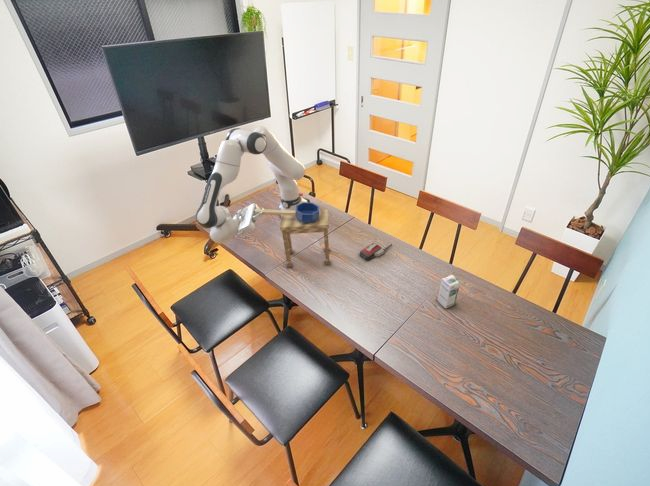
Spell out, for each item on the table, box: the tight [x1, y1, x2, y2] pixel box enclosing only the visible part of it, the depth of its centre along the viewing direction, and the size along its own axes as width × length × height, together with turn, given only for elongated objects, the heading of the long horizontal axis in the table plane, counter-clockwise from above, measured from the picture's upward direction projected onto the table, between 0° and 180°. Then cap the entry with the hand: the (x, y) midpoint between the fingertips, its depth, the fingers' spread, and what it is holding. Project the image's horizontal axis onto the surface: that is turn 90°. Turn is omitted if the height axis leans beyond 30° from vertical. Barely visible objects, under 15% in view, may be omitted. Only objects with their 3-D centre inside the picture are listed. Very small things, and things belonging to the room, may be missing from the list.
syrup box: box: [437, 274, 461, 309], centre depth 147 cm, size 6×6×14 cm
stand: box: [279, 208, 331, 268], centre depth 169 cm, size 23×14×26 cm, turn 96°
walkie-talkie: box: [359, 242, 393, 261], centre depth 180 cm, size 9×4×20 cm
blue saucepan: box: [255, 202, 320, 223], centre depth 158 cm, size 30×11×5 cm, turn 96°
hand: (262, 210), depth 157 cm, fingers closed on blue saucepan, 2 cm apart
